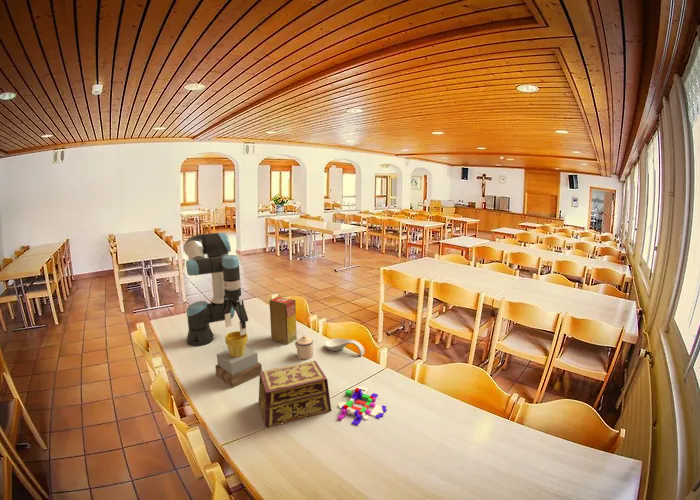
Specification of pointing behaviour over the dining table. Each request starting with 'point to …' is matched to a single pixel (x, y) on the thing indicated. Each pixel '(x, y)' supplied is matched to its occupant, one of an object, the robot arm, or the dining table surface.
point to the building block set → (360, 412)
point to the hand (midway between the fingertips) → (235, 330)
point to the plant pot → (236, 343)
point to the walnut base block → (238, 375)
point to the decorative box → (293, 393)
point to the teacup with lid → (304, 348)
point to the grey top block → (237, 361)
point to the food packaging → (283, 320)
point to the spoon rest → (343, 344)
